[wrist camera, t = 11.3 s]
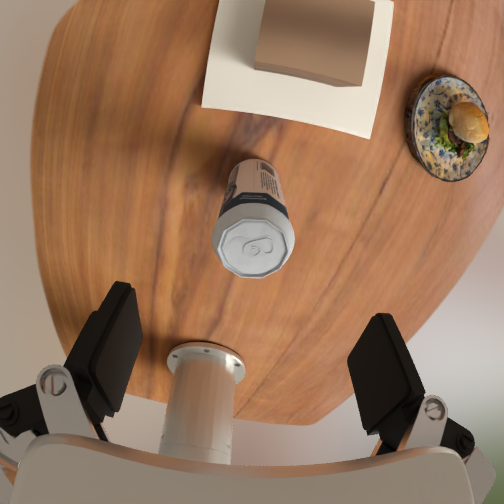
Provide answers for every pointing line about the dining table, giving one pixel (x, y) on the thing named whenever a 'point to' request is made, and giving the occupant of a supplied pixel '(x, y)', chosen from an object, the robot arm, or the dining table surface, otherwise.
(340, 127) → the stone tile
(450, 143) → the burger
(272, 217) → the beer can
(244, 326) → the dining table surface
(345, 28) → the walnut block
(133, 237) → the dining table surface
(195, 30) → the dining table surface
